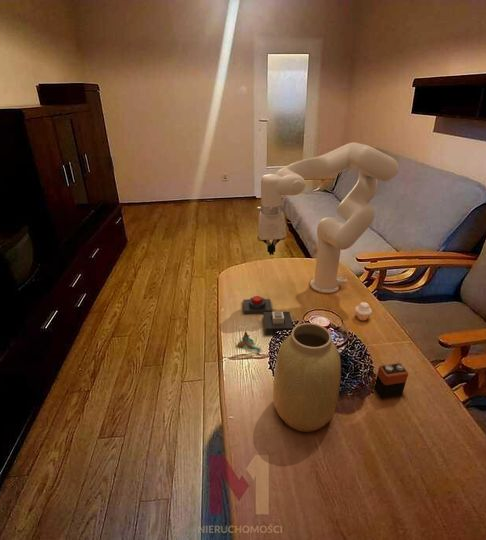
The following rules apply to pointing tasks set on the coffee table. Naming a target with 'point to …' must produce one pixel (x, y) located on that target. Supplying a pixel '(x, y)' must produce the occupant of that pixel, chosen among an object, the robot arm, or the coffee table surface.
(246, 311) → the switch block
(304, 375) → the vase
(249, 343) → the dragon figurine
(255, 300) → the power button
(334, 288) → the robot arm
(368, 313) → the cream rounded piece
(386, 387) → the battery
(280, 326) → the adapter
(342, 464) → the coffee table surface
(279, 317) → the charger
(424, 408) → the coffee table surface
